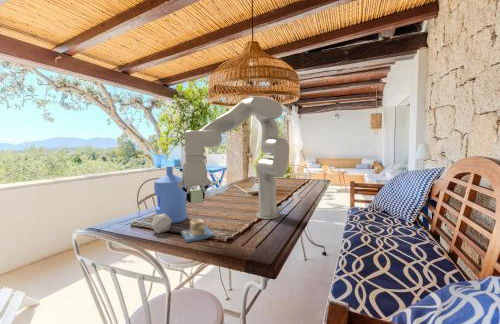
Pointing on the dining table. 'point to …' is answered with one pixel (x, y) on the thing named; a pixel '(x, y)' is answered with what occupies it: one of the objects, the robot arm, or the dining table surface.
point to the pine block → (197, 226)
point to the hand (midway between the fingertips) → (195, 200)
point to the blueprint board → (189, 237)
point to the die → (161, 223)
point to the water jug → (170, 197)
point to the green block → (196, 196)
